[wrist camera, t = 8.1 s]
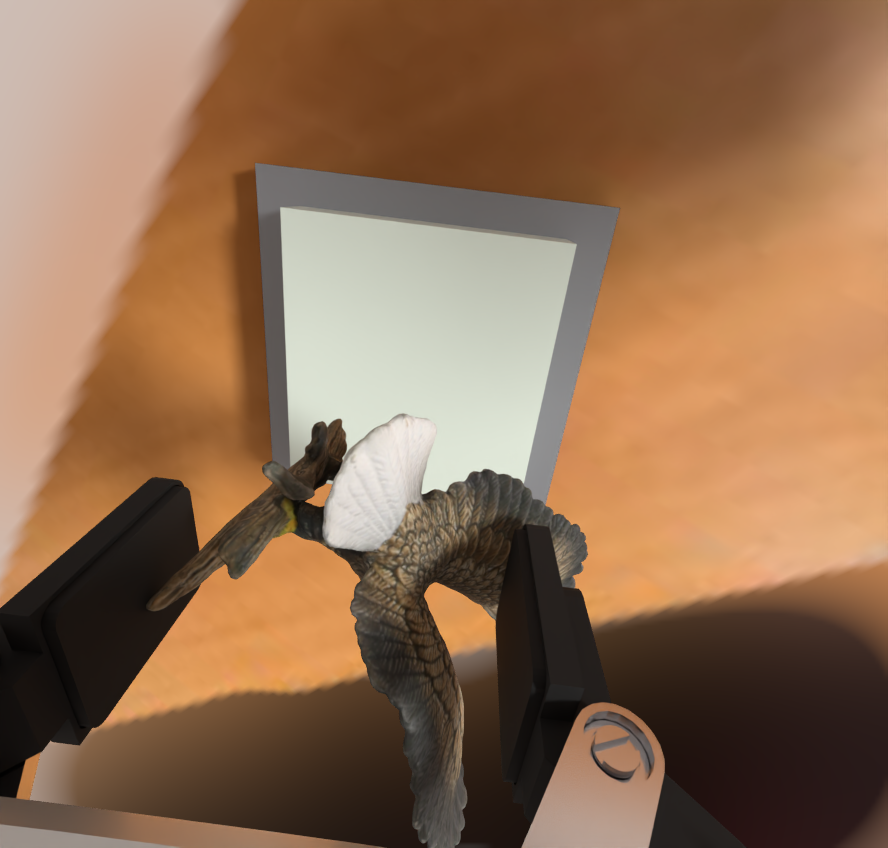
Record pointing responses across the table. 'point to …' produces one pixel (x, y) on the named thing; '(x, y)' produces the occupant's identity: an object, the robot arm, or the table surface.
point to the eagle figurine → (397, 575)
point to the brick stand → (427, 315)
